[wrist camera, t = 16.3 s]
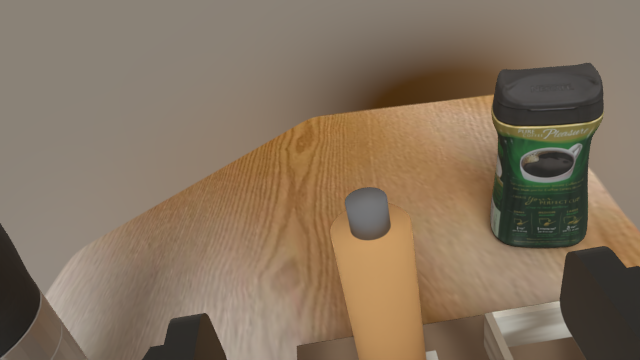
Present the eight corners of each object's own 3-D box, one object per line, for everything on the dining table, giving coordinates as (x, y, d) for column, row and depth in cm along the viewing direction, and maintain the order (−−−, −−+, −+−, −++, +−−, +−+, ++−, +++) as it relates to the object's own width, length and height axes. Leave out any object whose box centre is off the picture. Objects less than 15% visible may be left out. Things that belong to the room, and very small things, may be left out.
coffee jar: (576, 205, 57) (599, 48, 47) (591, 253, 51) (621, 85, 41) (486, 205, 60) (489, 57, 49) (491, 251, 53) (495, 92, 43)
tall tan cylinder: (358, 395, 40) (310, 198, 30) (406, 365, 42) (377, 166, 31) (392, 444, 37) (351, 239, 26) (444, 409, 38) (426, 201, 27)
